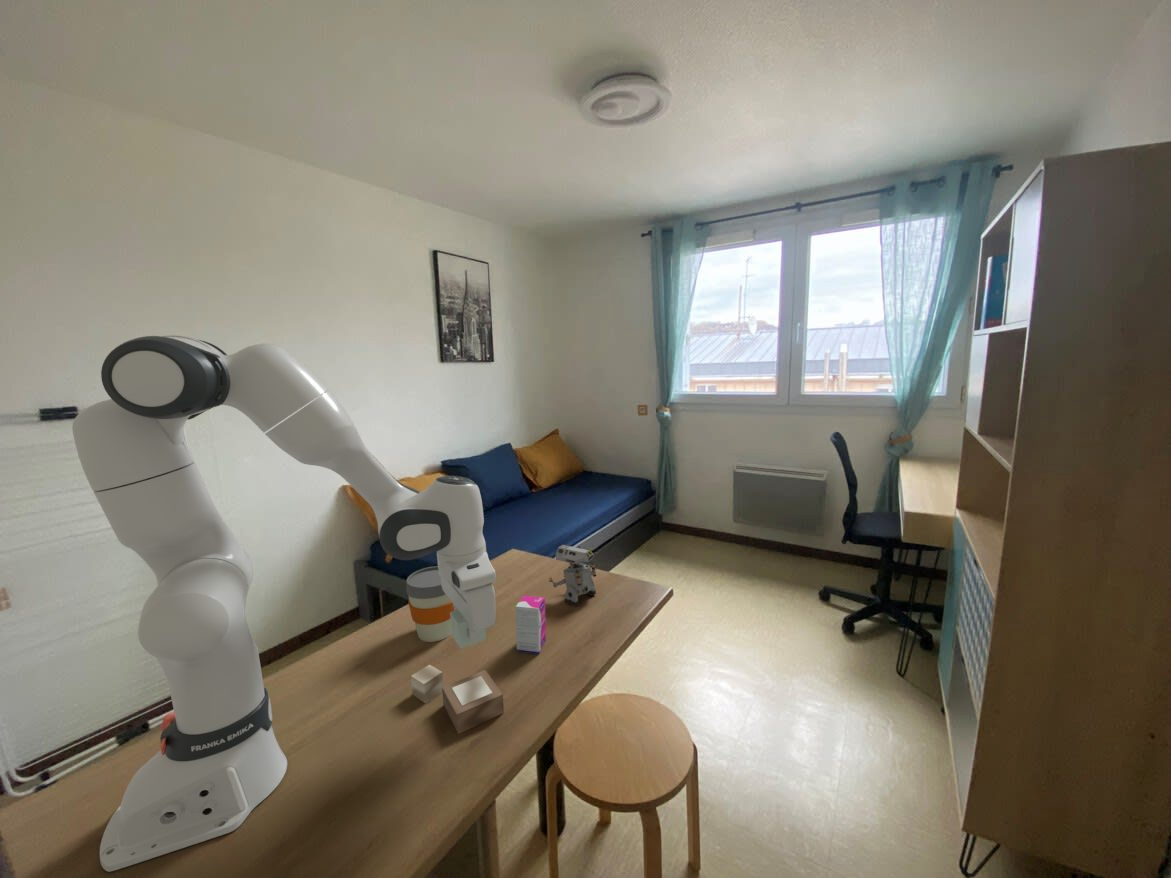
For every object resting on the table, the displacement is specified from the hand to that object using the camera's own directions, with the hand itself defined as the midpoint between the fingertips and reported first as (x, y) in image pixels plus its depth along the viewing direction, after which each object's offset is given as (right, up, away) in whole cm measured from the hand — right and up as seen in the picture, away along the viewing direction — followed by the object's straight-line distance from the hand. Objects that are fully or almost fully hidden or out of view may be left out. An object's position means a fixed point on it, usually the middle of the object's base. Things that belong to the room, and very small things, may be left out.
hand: (468, 629), depth 89 cm
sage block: (0, -2, 0) cm, 2 cm away
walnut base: (0, -17, +3) cm, 17 cm away
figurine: (+19, -10, +46) cm, 51 cm away
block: (-10, -16, +8) cm, 21 cm away
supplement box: (+10, -13, +23) cm, 28 cm away
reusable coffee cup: (-16, -13, +30) cm, 36 cm away
